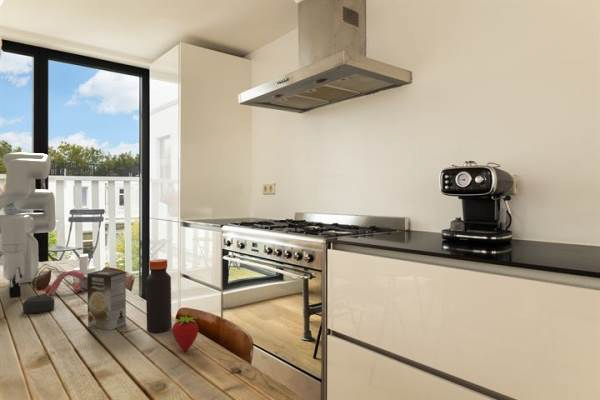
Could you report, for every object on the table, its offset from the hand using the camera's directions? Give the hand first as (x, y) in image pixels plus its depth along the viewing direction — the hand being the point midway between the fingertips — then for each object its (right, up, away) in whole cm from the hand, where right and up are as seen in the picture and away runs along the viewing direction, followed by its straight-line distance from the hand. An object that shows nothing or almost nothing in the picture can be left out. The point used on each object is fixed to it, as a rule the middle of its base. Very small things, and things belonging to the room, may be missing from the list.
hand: (15, 296), depth 144 cm
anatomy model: (+10, -1, +10) cm, 15 cm away
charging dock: (+18, -1, +17) cm, 25 cm away
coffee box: (+50, -1, -30) cm, 58 cm away
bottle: (+67, -1, -34) cm, 75 cm away
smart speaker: (+19, -2, -14) cm, 23 cm away
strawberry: (+80, -1, -50) cm, 94 cm away
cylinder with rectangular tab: (+8, -1, +32) cm, 33 cm away
